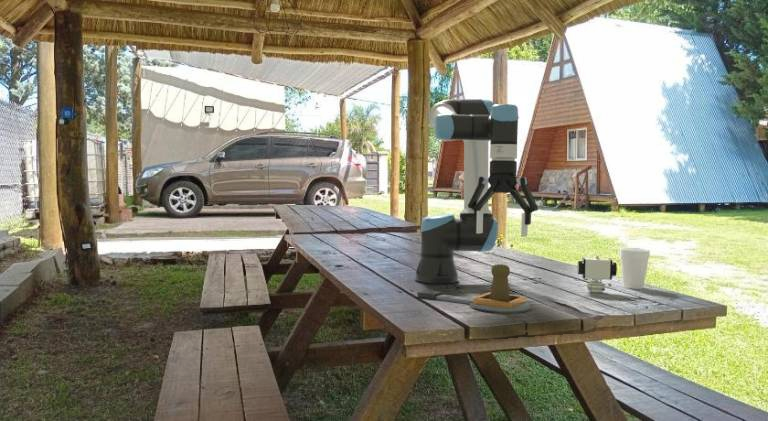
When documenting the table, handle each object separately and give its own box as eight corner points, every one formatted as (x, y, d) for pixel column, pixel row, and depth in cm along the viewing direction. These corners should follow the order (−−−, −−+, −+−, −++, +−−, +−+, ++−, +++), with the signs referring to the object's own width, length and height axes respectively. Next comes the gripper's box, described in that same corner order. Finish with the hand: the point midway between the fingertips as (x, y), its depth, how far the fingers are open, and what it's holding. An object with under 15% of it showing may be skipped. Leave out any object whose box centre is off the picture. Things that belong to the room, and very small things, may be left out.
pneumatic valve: (616, 294, 201) (617, 257, 200) (577, 292, 203) (579, 255, 203) (613, 291, 206) (614, 255, 206) (576, 289, 209) (577, 253, 208)
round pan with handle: (538, 305, 182) (539, 296, 182) (516, 316, 168) (516, 306, 168) (434, 292, 201) (434, 283, 201) (406, 300, 187) (406, 291, 187)
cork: (511, 301, 181) (512, 263, 181) (508, 305, 176) (510, 266, 175) (490, 300, 183) (491, 262, 183) (487, 304, 178) (488, 265, 177)
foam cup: (634, 290, 208) (635, 251, 208) (612, 285, 217) (614, 248, 216) (654, 288, 213) (655, 250, 212) (632, 284, 221) (633, 247, 220)
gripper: (457, 159, 181) (456, 232, 183) (541, 159, 167) (539, 238, 169) (469, 160, 187) (467, 230, 189) (550, 160, 174) (548, 236, 175)
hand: (501, 234), depth 179 cm, fingers open, 13 cm apart
